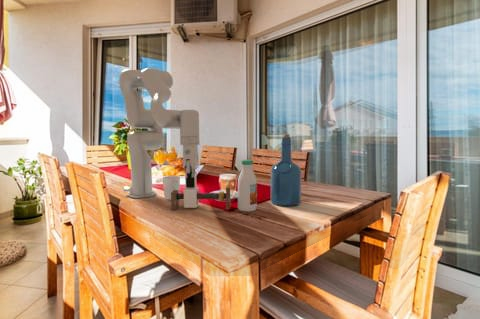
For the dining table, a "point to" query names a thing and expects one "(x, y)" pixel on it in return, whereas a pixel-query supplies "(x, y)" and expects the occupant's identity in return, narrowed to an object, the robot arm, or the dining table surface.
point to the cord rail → (201, 197)
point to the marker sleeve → (191, 195)
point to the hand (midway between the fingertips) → (191, 186)
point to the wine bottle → (286, 178)
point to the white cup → (170, 185)
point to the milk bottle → (247, 187)
